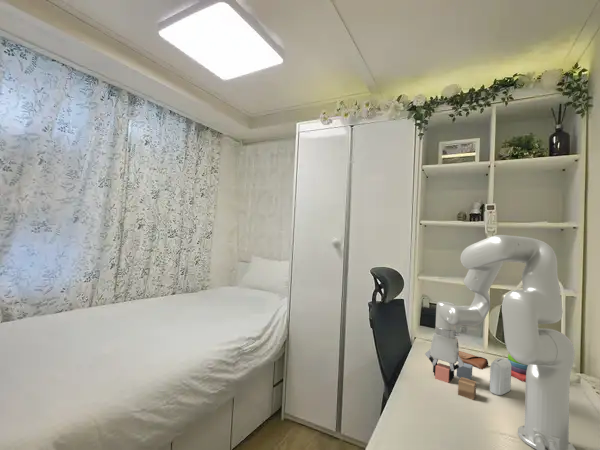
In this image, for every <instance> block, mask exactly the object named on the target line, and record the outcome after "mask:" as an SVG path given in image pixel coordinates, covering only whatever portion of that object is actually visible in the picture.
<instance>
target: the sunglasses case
mask: <svg viewBox="0 0 600 450" xmlns="http://www.w3.org/2000/svg"><path fill="white" fill-rule="evenodd" d="M459 357H460V358H461V360H462V361H463V363H466V364H470V365H473V366H472V368H477V369H479V370H484V369H485V368H487V367H489V361H488V359H487V358H485V357H483V356H478V355H474V354H472V353H468V352H464V351H461V350H459Z"/></svg>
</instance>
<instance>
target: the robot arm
mask: <svg viewBox="0 0 600 450" xmlns="http://www.w3.org/2000/svg"><path fill="white" fill-rule="evenodd" d="M460 262H461V265H462V266H463V267H464V269H466V270H467V273H466V275H465V276H464V279H463V285H464V286H465V287H466V288H467V289H469V290H470V291H471V292H473V293H474V297H473V300H472V302H471V303H470V305H456V304H455V303H453V302H450V301H449V302H448V301H442V300H441V301H438V302H436V306H435V307H436V309H435V327H434V328H435V329H434V330H435V332H433V334H432V338H431V345H430V349H429V350H427V351H426V352H425V353H424V355H425V357H427V358H428V360H429V361H430V362H431V364H432V373H433V375H434V377H435V368H436V365H437V364H438V363H439V362H438V361H442V362H446V363H449V366H450V371H449V382H451V381H452V380H453V379H454V378H455V371H457V368H459V367H462V366H464V363H463V361H462V360H461V358H460V357H459V351H460V348H459V338H458V337H460V332H458V331H457V329H456V328H457V326H459V327H461V326H462V327H464V326H468V327H470V326H471V327H474V326H478V325H481V323H483V322H484V320H485V319H486V316H488V313H489V312H490V310H491V297H490V293H489V291H490V289H491V287H492V285H493V283H494V281H495V279H496V278H497V275H498V274H499V272H500V270H501V268H502V266H503V265H504V262H505V263H506V262H507V263H519V264H524V265H525V266H524V267H523V270H522V274H521V280H522V289H515V290H511V291H509V292H507V294H506V295H505V296H504V297H503V300H502V303H501V313H502V314H501V315H502V326H503V336H504V337H503V338H504V343H505V347H506V350H507V353H508V354H510V355H511V357H512V358H513V359H514V360H516V361H517V362H519V363H521V364H525V365H528V367H527V371H526V382H525V388H524V389H525V395H524V396H525V397H524V398H525V399H524V400H525V401H524V425H520V426H519V427H518V428H517V435H518V437H520V439H521V440H522V441H523V442H524V443H525V444H527V445H528V446H530V447H531V448H533V449H535V450H576V447H575V446H574V445H573V444H572V443H571V442H570V440H569V433H570V432H569V430H570V429H569V428H570V427H569V426H570V390H571V389H570V388H571V386H570V384H571V374H572V369H573V365H574V362H575V361H574V360H575V354H576V353H575V347H574V344H573V342H572V341H571V340H570V338H569V337H568V336H567V335H566V334H564V333H563V332H560V331H558V330H557V329H552V328H545V327H544V328H540V327H539V325H546V324H547V325H549V324H556V323H558V322H559V321H561V319H562V318H563V303H562V296H561V290H560V283H559V276H558V259H557V255H556V253H555V250H554V249H553V247H552V246H550V244H548V243H546V242H545V241H543V240H540V239H537V238H534V237H527V236H518V235H508V234H495V235H492V236H488V237H487V238H484V239H481V240H479V241H477V242H475V243H472V244H469V245H468V246H467V247H465V248H464V249H463V250H462V252H461V254H460Z"/></svg>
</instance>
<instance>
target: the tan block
mask: <svg viewBox="0 0 600 450" xmlns="http://www.w3.org/2000/svg"><path fill="white" fill-rule="evenodd" d="M457 396H461V397H463V398H466V399H469V400H471V401H474V400H475V398H476V396H477V381H475V380H472V379H471V380H469V379H466V378H463V377H461V378H460V377H459V380H458V385H457Z"/></svg>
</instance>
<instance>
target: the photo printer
mask: <svg viewBox="0 0 600 450" xmlns="http://www.w3.org/2000/svg"><path fill="white" fill-rule="evenodd" d="M489 369H490V370H489V371H490V372H489V374H490V375H489V391H490V392H491V393H492V394H494V395H497V396H502V395H504V394H507V393H509V392H510V391H511V389H512V388H511V387H512V385H511V384H512V376H511V363H510V361H509V360H508V358H504V357H498V358H495V360H493V361H492V362H491V364H490V368H489Z"/></svg>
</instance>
